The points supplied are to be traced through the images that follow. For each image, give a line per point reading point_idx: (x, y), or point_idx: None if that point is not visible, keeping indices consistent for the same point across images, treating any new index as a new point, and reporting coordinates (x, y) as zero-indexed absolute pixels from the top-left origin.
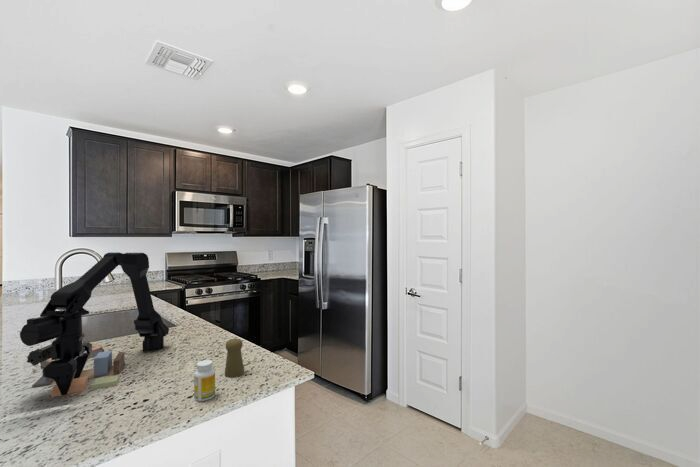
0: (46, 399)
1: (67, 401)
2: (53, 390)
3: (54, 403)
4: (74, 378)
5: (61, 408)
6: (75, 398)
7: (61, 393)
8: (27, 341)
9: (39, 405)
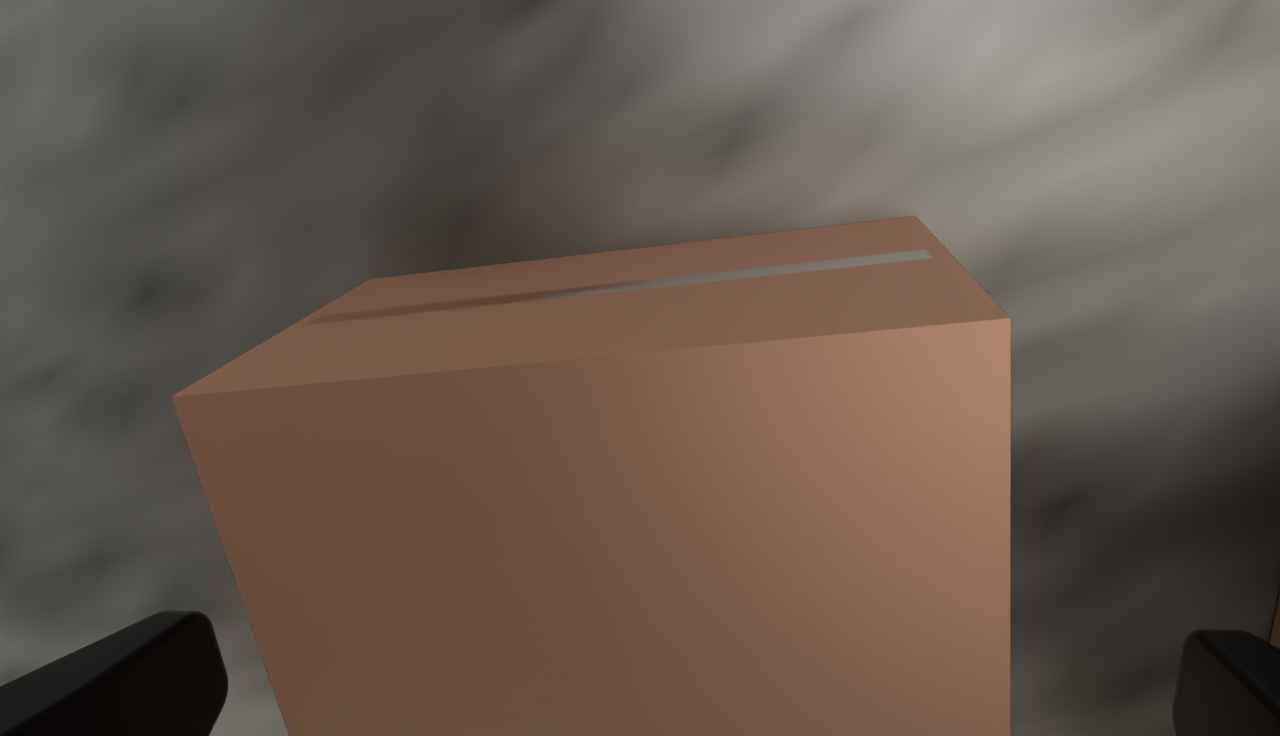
0: (543, 90)
1: None
2: (207, 442)
3: None
4: (1226, 724)
5: (8, 584)
6: None
7: (102, 651)
8: None
9: (217, 72)
